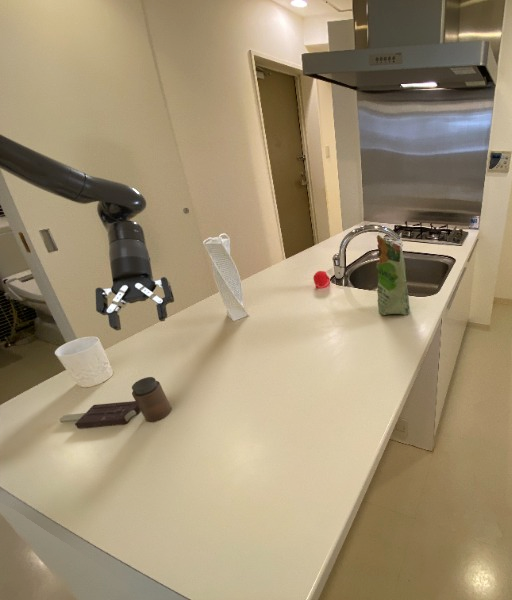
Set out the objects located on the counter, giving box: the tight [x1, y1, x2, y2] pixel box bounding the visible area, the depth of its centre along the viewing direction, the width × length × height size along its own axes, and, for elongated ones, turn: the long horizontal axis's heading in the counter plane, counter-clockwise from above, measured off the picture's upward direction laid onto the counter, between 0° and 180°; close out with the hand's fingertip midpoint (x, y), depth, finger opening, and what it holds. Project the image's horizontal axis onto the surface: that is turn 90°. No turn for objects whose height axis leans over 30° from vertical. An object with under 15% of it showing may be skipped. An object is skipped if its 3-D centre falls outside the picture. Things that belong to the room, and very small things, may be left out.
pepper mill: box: [131, 376, 172, 423], centre depth 69 cm, size 5×5×8 cm
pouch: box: [376, 234, 411, 316], centre depth 103 cm, size 11×12×25 cm
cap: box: [312, 270, 331, 290], centre depth 126 cm, size 8×6×6 cm
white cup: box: [54, 335, 114, 388], centre depth 79 cm, size 8×8×10 cm
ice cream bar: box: [58, 400, 141, 429], centre depth 69 cm, size 5×2×15 cm
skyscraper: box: [202, 232, 250, 322], centre depth 101 cm, size 8×8×28 cm
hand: (140, 324), depth 75 cm, fingers open, 8 cm apart
